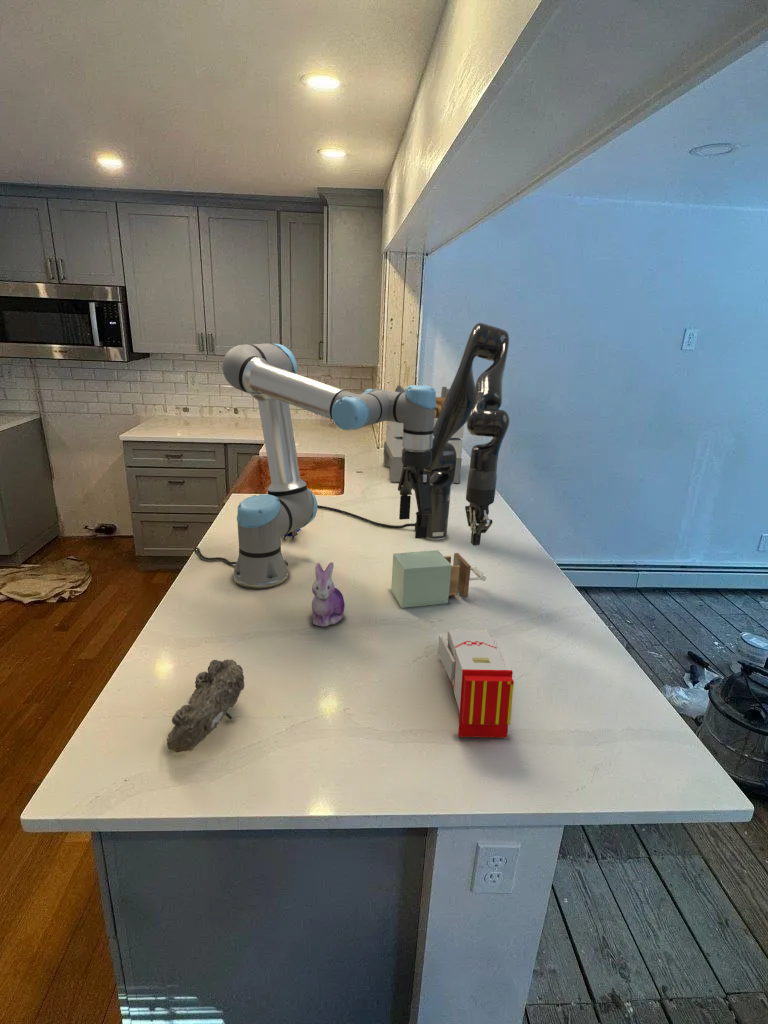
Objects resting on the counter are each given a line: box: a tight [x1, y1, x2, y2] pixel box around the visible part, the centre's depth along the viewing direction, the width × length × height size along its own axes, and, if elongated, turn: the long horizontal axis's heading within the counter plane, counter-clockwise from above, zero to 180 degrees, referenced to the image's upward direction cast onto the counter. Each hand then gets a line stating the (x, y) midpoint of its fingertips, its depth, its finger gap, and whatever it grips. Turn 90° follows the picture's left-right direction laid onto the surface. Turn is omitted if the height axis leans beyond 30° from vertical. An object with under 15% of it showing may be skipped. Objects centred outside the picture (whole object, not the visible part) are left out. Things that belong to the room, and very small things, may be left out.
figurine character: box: [282, 528, 302, 541], centre depth 194 cm, size 7×8×15 cm
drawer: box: [443, 552, 487, 598], centre depth 157 cm, size 17×9×9 cm, turn 106°
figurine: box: [311, 561, 346, 627], centre depth 141 cm, size 9×10×15 cm
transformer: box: [383, 384, 465, 484], centre depth 268 cm, size 34×33×41 cm
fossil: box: [166, 658, 245, 754], centre depth 106 cm, size 22×10×15 cm
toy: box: [437, 628, 515, 738], centre depth 117 cm, size 12×13×30 cm
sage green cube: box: [390, 549, 452, 609], centre depth 155 cm, size 13×10×11 cm
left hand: (412, 528), depth 149 cm, fingers open, 13 cm apart
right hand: (475, 544), depth 156 cm, fingers closed
